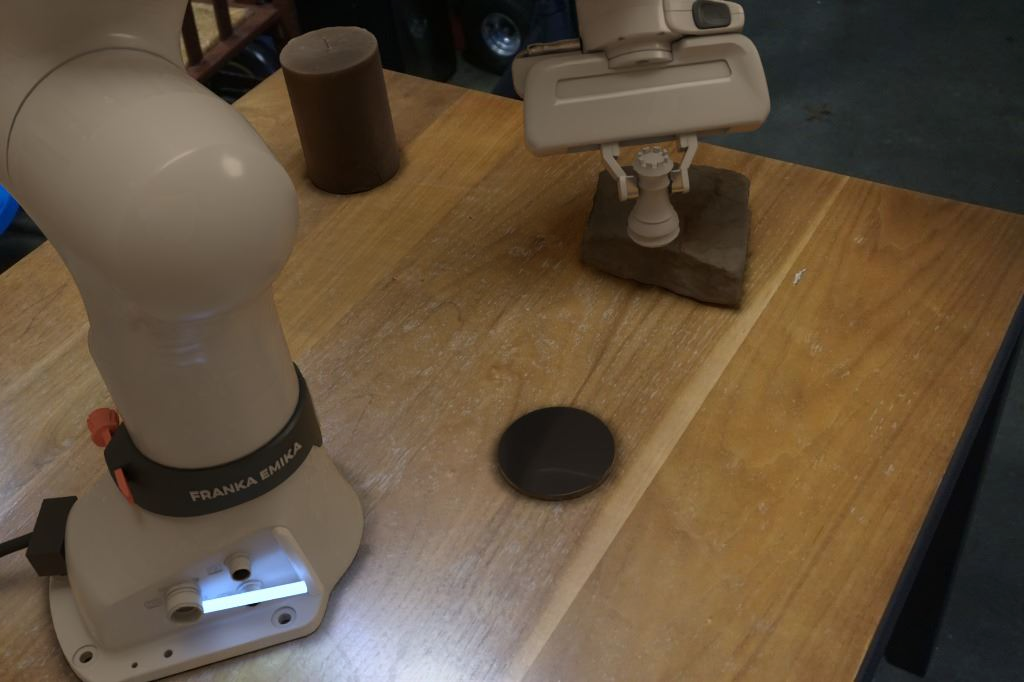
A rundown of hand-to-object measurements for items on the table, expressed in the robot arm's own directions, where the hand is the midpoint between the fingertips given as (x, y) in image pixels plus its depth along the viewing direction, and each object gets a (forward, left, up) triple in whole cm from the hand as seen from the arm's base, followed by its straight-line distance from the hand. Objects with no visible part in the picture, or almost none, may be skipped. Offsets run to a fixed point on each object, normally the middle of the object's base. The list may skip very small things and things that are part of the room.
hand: (655, 196), depth 90 cm
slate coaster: (-17, -12, -10) cm, 23 cm away
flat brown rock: (+4, +5, -10) cm, 12 cm away
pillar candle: (-16, +34, -10) cm, 38 cm away
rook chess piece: (0, +1, -5) cm, 5 cm away
